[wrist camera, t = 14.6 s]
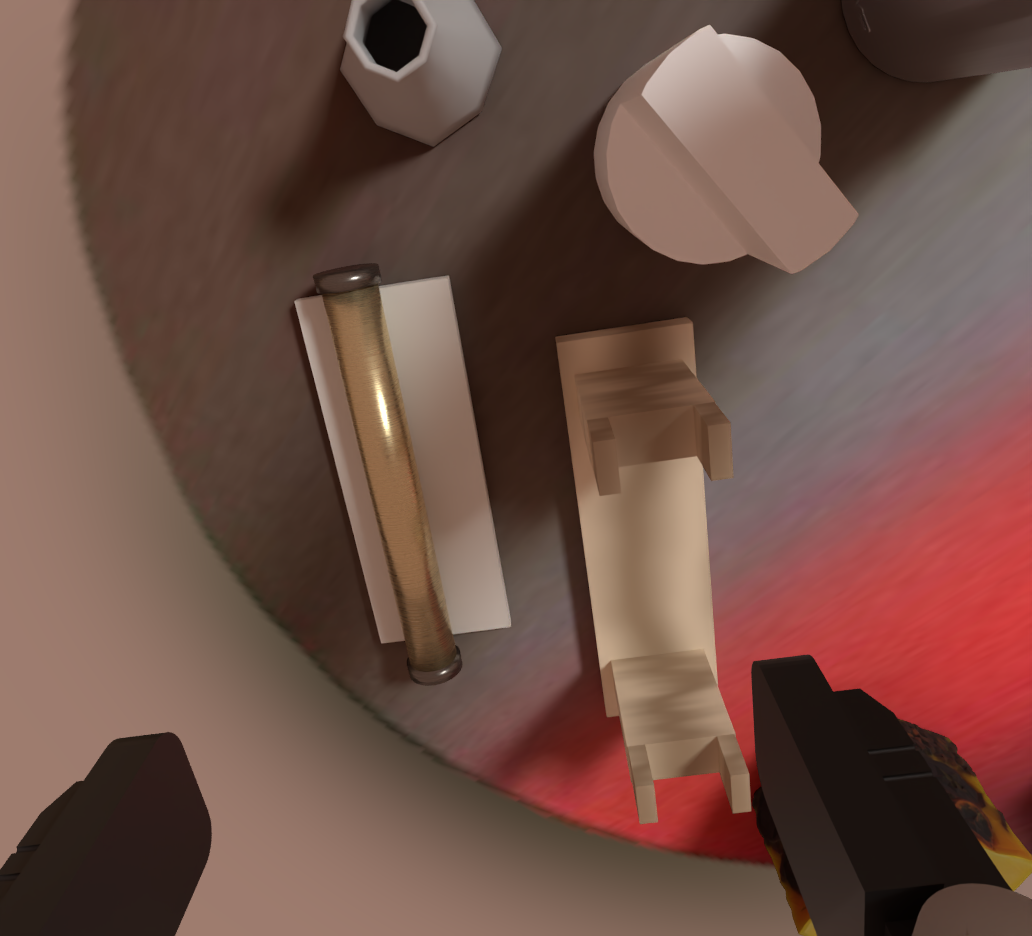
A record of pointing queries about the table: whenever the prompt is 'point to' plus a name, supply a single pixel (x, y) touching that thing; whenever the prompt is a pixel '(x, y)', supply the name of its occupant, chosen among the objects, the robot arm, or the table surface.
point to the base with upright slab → (720, 157)
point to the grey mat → (419, 454)
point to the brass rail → (390, 467)
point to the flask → (419, 64)
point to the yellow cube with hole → (962, 792)
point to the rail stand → (651, 546)
